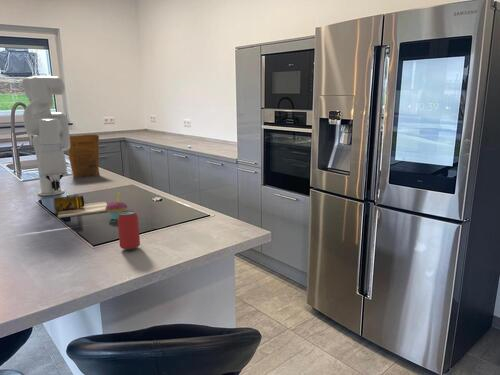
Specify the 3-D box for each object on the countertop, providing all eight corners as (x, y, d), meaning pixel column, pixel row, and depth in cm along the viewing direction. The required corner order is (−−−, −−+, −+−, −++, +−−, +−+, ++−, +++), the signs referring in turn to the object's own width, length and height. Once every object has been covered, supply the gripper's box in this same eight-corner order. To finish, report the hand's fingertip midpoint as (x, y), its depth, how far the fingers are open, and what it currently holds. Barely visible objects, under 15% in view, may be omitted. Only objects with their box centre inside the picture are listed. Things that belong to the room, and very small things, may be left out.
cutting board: (57, 208, 176) (57, 207, 176) (105, 203, 185) (105, 201, 185) (58, 217, 162) (57, 216, 162) (110, 211, 171) (109, 209, 171)
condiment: (55, 213, 166) (85, 209, 172) (53, 193, 165) (83, 190, 171) (54, 211, 172) (83, 207, 178) (52, 192, 171) (81, 189, 177)
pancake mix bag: (102, 178, 246) (98, 134, 240) (70, 180, 239) (65, 136, 233) (102, 176, 252) (98, 134, 246) (70, 178, 245) (65, 135, 239)
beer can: (122, 243, 132) (119, 210, 130) (141, 242, 133) (139, 209, 130) (117, 250, 126) (114, 215, 123) (138, 249, 126) (135, 215, 124)
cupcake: (131, 216, 164) (129, 188, 161) (119, 221, 156) (116, 193, 153) (115, 214, 167) (112, 187, 164) (102, 220, 159) (99, 192, 156)
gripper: (70, 146, 169) (74, 186, 173) (31, 148, 163) (37, 190, 167) (70, 148, 163) (75, 189, 167) (30, 150, 156) (36, 193, 160)
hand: (56, 189), depth 167 cm, fingers closed
